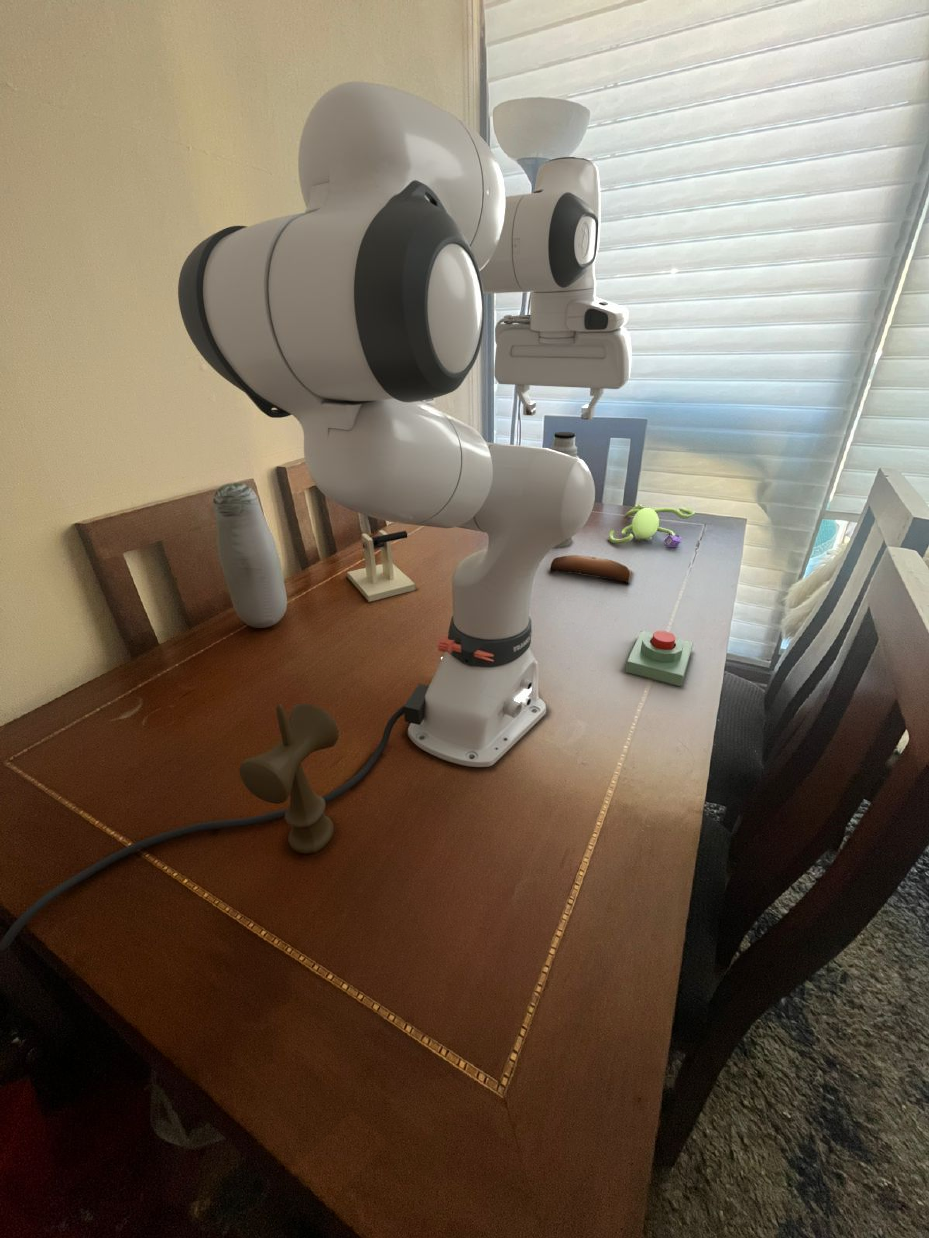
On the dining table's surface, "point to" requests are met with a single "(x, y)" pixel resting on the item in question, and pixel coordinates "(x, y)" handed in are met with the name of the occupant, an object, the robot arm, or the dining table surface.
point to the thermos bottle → (566, 445)
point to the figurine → (650, 525)
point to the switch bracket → (379, 573)
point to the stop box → (659, 660)
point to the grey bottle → (249, 557)
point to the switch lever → (388, 538)
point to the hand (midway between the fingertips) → (557, 416)
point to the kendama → (295, 775)
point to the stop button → (663, 640)
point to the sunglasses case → (591, 567)
